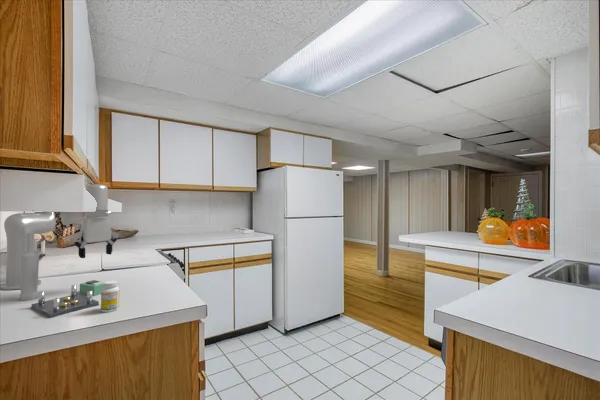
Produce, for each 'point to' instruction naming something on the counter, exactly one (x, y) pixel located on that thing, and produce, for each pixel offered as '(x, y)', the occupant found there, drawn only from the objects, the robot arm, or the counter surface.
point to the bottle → (29, 271)
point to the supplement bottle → (110, 296)
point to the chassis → (64, 303)
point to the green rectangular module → (92, 287)
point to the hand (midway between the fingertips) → (96, 255)
